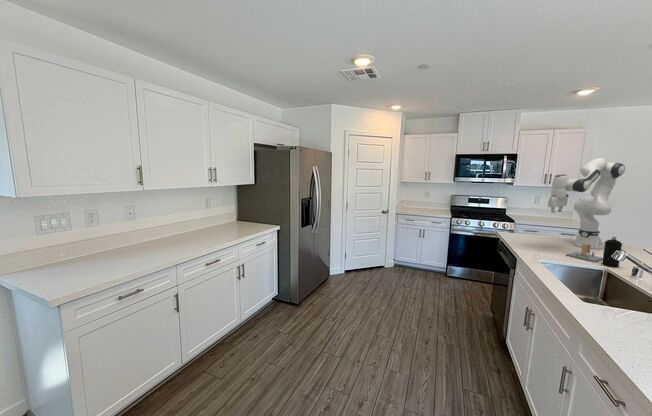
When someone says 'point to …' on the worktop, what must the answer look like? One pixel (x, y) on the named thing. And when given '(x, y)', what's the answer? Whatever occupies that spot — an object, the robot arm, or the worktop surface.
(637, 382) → the worktop surface
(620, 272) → the worktop surface
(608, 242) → the aerosol can
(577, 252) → the peg base
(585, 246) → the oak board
